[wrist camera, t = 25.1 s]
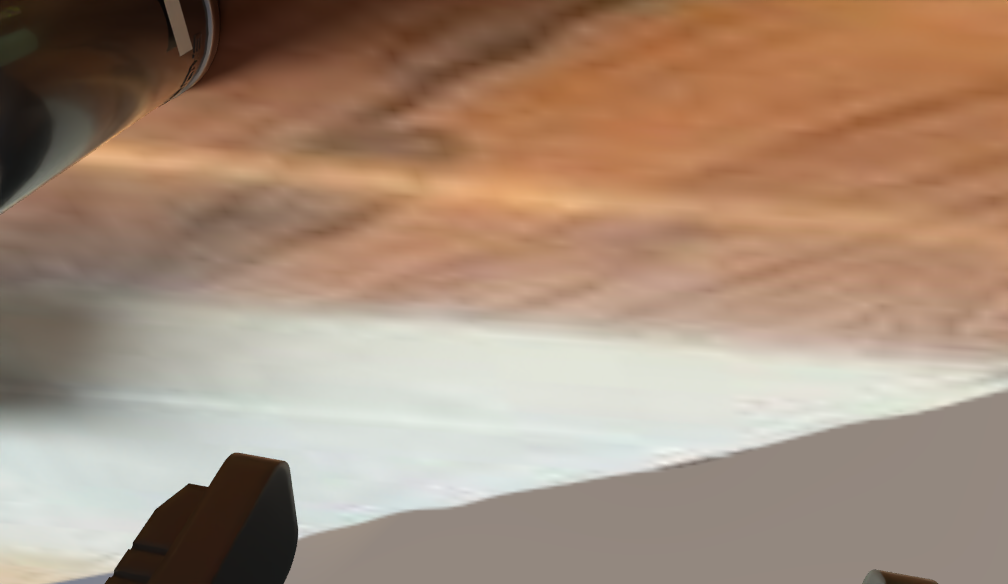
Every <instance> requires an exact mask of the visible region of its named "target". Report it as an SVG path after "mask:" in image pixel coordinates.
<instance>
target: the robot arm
mask: <svg viewBox="0 0 1008 584" xmlns="http://www.w3.org/2000/svg"><path fill="white" fill-rule="evenodd" d="M219 33H220V17H219V8H218V2H217V0H0V215H1V214H2V213H4V212H5V211H7V210H8V209H10V208H11V207H13V206H14V205H16V204H17V203H19V202H20V201H21V200H23V199H24V198H26V197H27V196H29V195H30V194H32V193H33V192H35V191H36V190H38V189H39V188H40V187H42V186H43V185H45V184H46V183H48V182H49V181H51V180H52V179H54V178H55V177H57V176H58V175H59V174H61V173H62V172H64V171H65V170H67V169H68V168H70V167H71V166H73V165H74V164H76V163H77V162H78V161H80V160H81V159H83V158H84V157H86V156H87V155H89V154H90V153H92V152H93V151H94V150H96V149H97V148H99V147H100V146H102V145H103V144H105V143H106V142H108V141H109V140H111V139H112V138H113V137H115V136H116V135H118V134H119V133H121V132H122V131H124V130H125V129H127V128H128V127H130V126H131V125H132V124H134V123H135V122H137V121H138V120H140V119H141V118H143V117H144V116H146V115H147V114H149V113H150V112H152V111H153V110H154V109H156V108H157V107H160V106H161V105H163V104H165V103H167V102H168V101H169V100H171V99H173V98H175V97H177V96H179V95H180V94H182V93H183V92H185V91H186V90H188V89H189V88H190V87H192V86H193V85H195V84H196V83H197V82H198V81H199V80H200V79H201V78H202V77H203V76H204V74H205V73H206V72H207V70H208V69H209V67H210V65H211V63H212V61H213V59H214V56H215V53H216V50H217V46H218V42H219ZM297 540H298V525H297V517H296V510H295V503H294V496H293V489H292V481H291V474H290V468H289V465H288V463H287V462H285V461H281V460H276V459H270V458H265V457H259V456H254V455H248V454H243V453H233V454H231V455H230V456H229V457H228V458H227V459H226V460H225V462H224V463H223V465H222V466H221V468H220V469H219V471H218V473H217V474H216V476H215V477H214V479H213V480H212V482H211V484H210V485H209V487H205V486H200V485H195V484H188V485H186V486H185V487H184V488H183V489H181V490H180V491H179V492H177V493H176V494H175V495H174V496H172V497H171V498H170V499H168V500H167V501H166V502H165V503H163V504H162V505H161V506H159V507H158V508H157V509H156V510H155V511H154V513H153V514H152V515H151V517H150V518H149V520H148V521H147V523H146V524H145V526H144V527H143V529H142V530H141V532H140V533H139V534H138V536H137V537H136V539H135V540H134V542H133V546H132V548H131V550H129V549H128V551H127V552H126V553H125V555H124V556H123V558H122V559H121V561H120V562H119V564H118V565H117V567H116V568H115V570H114V575H113V576H112V577H109V578H108V580H107V581H106V583H105V584H284V582H285V579H286V577H287V575H288V573H289V571H290V568H291V565H292V562H293V559H294V555H295V551H296V547H297ZM862 584H938V583H937V582H936V581H934V580H930V579H925V578H919V577H913V576H908V575H903V574H897V573H892V572H886V571H880V570H872V571H870V572H869V573H868V574H867V576H866V578H865V579H864V581H863V583H862Z"/></svg>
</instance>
